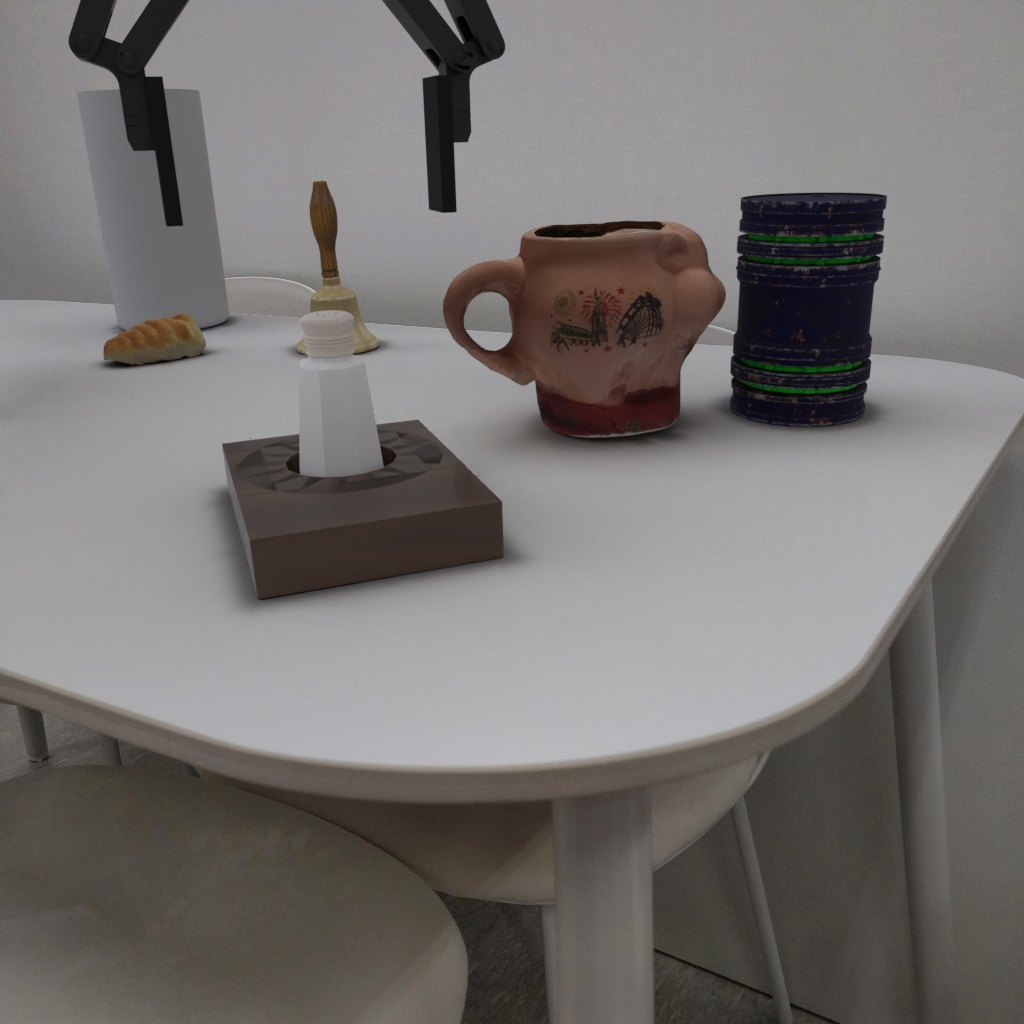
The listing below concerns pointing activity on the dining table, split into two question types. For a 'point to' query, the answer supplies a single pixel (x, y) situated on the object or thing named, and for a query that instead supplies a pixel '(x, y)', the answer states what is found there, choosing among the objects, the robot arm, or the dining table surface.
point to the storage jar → (805, 306)
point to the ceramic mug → (597, 321)
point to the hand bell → (333, 270)
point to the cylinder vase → (155, 214)
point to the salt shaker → (335, 401)
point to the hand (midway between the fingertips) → (314, 218)
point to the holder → (358, 513)
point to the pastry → (156, 341)
